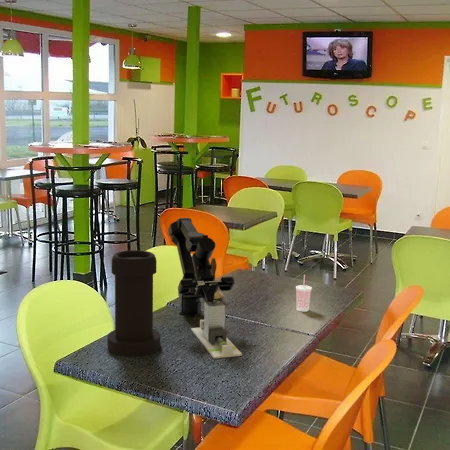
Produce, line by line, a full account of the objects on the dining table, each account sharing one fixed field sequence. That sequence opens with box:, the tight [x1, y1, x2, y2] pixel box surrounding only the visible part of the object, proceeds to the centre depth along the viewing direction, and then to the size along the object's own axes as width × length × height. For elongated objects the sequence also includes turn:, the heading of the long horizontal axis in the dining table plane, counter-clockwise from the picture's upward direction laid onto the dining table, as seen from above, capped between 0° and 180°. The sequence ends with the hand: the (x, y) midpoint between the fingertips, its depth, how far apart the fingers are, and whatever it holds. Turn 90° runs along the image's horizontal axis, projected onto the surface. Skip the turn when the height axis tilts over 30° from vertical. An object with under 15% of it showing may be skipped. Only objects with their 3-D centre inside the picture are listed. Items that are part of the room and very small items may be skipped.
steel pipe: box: [203, 323, 227, 347], centre depth 199 cm, size 23×2×2 cm, turn 19°
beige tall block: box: [203, 300, 226, 341], centre depth 200 cm, size 5×5×12 cm
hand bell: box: [210, 257, 224, 300], centre depth 249 cm, size 8×8×16 cm
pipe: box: [107, 249, 161, 357], centre depth 191 cm, size 16×16×30 cm
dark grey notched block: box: [209, 328, 228, 344], centre depth 197 cm, size 2×5×4 cm, turn 109°
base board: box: [190, 319, 243, 359], centre depth 199 cm, size 26×9×3 cm, turn 19°
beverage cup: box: [295, 274, 313, 312], centre depth 235 cm, size 6×6×14 cm
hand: (211, 307), depth 203 cm, fingers closed
